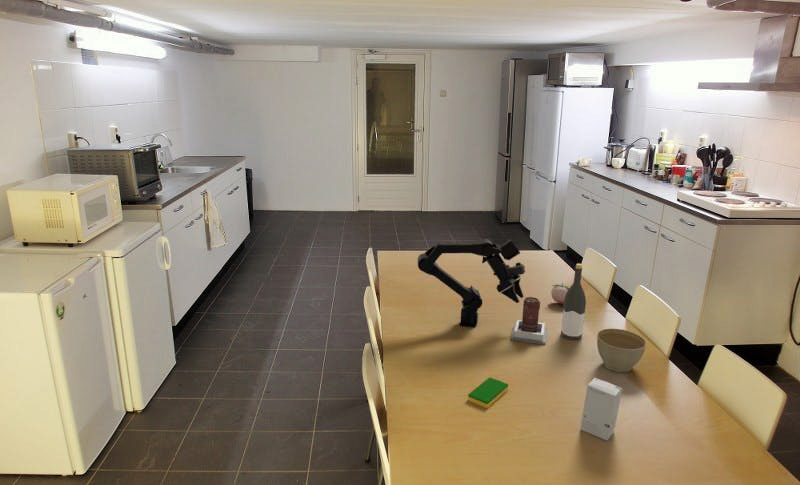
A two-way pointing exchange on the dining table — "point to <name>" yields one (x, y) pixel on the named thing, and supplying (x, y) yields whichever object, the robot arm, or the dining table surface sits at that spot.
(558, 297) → the decorative fruit
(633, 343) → the planter bowl
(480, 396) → the dish sponge
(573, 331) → the wine bottle
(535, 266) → the dining table surface
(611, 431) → the skincare box
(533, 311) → the can
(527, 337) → the tray
